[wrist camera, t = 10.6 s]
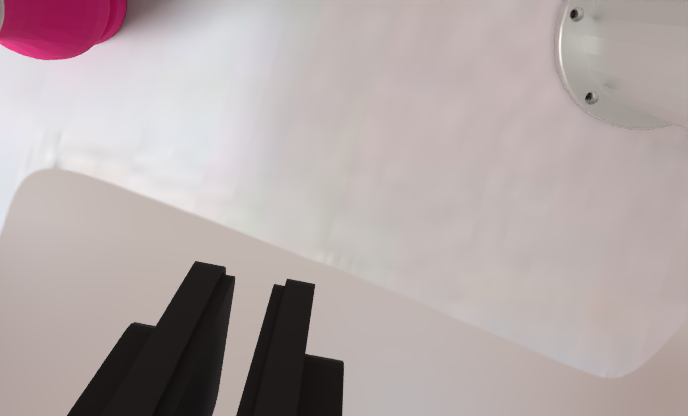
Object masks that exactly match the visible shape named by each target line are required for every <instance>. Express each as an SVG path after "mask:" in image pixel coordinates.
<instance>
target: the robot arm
mask: <svg viewBox="0 0 688 416" xmlns="http://www.w3.org/2000/svg"><path fill="white" fill-rule="evenodd" d="M572 10H575V12H576V14H575V16H574V17H573V18H570V13H571V11H572ZM555 58H556V63H557V68H558V73H559V75H560V77H561V80H562V82H563V85H564V87H565V89H566V90H567V92H568V93H569V94H570V96H571V97H572V99H573V100H574V101H575V102H576V103H577V104H578V105H579V106H580V107H581V108H582V109H583V110H585V111H586V112H587V113H589V114H590V115H592V116H594V117H595V118H597V119H599V120H601V121H603V122H606V123H608V124H610V125H613V126H616V127H621V128H626V129H636V130H649V129H655V128H661V127H667V126H670V125H676V126H678V127H680V128H683V129H685V130H688V0H564V3H563V5H562V8H561V11H560V13H559V16H558V21H557V27H556V32H555ZM587 93H590V97H589V98H588V99H585V97H586V95H587ZM234 285H235V276H229V275H226V268H225V267H224V266H218V265H213V264H208V263H202V262H197V261H195V263H194V264H193V266H192V267H191V269H190V271H189V272H188V274H187V276H186V277H185V279H184V281H183V282H182V284H181V285H180V287H179V289H178V290H177V292H176V294H175V295H174V297H173V299H172V300H171V302H170V304H169V305H168V307H167V309H166V311H165V312H164V314H163V315H162V317H161V319H160V320H159V322H158V324H157V325H156V326H152V325H146V324H141V323H136V322H134V323H132V324H130V326H129V327H128V328H127V329H126V330H125V332H124V333H123V335H122V336H121V338H120V339H119V341H118V342H117V344H116V345H115V346H114V348H113V349H112V351H111V352H110V354H109V355H108V357H107V358H106V360H105V361H104V362H103V364H102V365H101V367H100V369H99V370H98V371H97V373H96V374H95V376H94V377H93V378H92V380H91V381H90V383H89V384H88V386H87V387H86V389H85V390H84V392H83V393H82V394H81V396H80V397H79V399H78V400H77V402H76V403H75V405H74V406H73V408H72V409H71V411H70V412H69V413H68V415H67V416H212V414H213V411H214V408H215V404H216V400H217V396H218V390H219V384H220V377H221V370H222V364H223V357H224V351H225V344H226V338H227V331H228V325H229V318H230V311H231V305H232V298H233V291H234ZM314 289H315V284H312V283H306V282H301V281H296V280H291V279H287V281H286V284H285V286H281V285H276V284H274V286H273V289H272V293H271V297H270V300H269V303H268V307H267V310H266V314H265V317H264V321H263V324H262V328H261V331H260V335H259V338H258V342H257V345H256V349H255V352H254V356H253V359H252V363H251V366H250V370H249V373H248V377H247V380H246V384H245V387H244V391H243V394H242V398H241V401H240V405H239V408H238V412H237V415H236V416H342V404H343V402H342V401H343V376H344V363H343V361H340V360H335V359H330V358H324V357H319V356H313V355H308V354H305V350H306V344H307V337H308V330H309V323H310V316H311V309H312V303H313V295H314Z"/></svg>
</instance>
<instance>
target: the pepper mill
mask: <svg viewBox="0 0 688 416" xmlns="http://www.w3.org/2000/svg"><path fill="white" fill-rule="evenodd" d="M126 7H127V0H0V44H1V45H3V46H5V47H6V48H8V49H10V50H12V51H15V52H17V53H19V54H22V55H25V56H28V57H32V58H36V59H42V60H58V59H68V58H72V57H75V56H78V55H80V54H82V53H84V52H86V51H88V50H89V49H90V48H91V47H92V46H94V45H95V44H99V43H102V42H104V41H106V40H107V39H109V38H111V37H112V36H113V35H114V34H115V33H116V32H117V31H118V30H119V28H120V26H121V25H122V23H123V20H124V17H125V13H126Z"/></svg>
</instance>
